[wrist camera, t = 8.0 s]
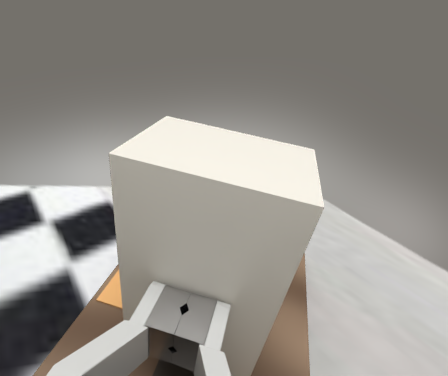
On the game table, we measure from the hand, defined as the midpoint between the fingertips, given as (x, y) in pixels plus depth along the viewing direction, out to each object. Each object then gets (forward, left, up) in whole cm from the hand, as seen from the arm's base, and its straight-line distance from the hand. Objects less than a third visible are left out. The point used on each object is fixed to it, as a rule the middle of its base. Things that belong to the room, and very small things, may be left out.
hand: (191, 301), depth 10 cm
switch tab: (+1, +2, -5) cm, 5 cm away
